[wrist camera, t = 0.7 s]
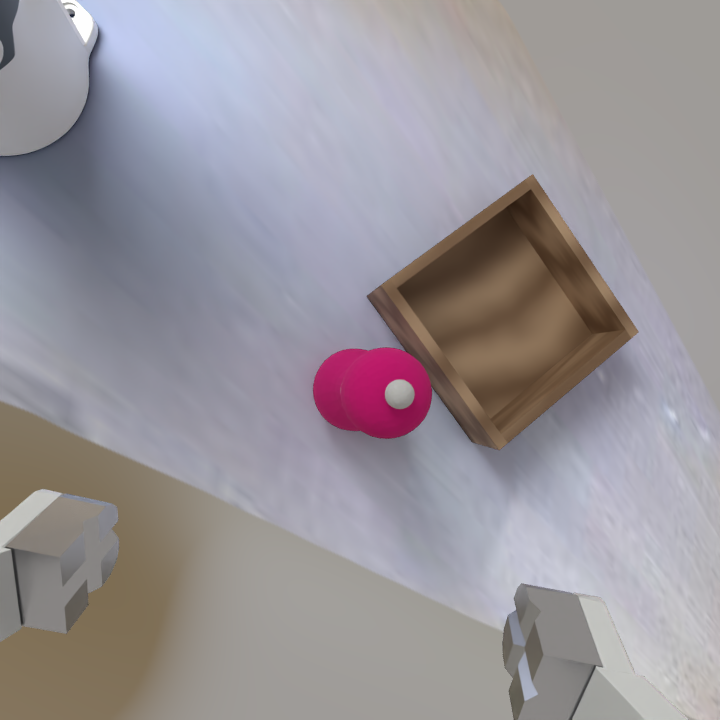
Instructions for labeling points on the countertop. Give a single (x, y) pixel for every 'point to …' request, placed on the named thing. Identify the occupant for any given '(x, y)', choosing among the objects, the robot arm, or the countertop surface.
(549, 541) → the countertop surface
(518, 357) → the tray
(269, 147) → the countertop surface
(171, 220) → the countertop surface
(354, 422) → the pepper mill
